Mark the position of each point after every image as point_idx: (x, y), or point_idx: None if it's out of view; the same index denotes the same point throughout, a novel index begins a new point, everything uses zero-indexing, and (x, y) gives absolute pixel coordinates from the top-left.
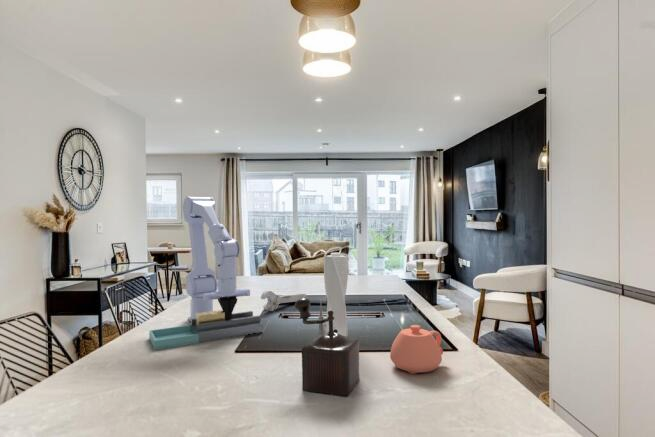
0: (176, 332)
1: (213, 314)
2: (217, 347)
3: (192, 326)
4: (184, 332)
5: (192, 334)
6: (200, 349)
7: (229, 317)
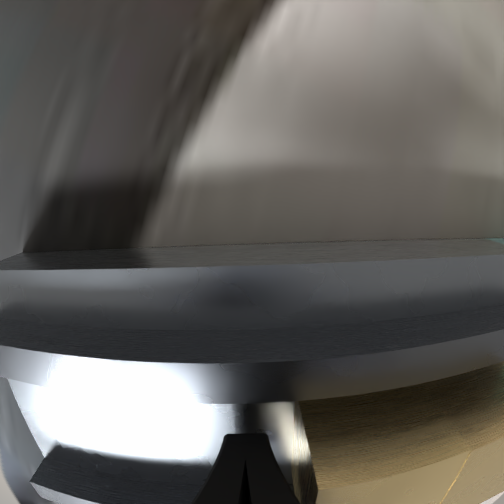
0: None
1: (452, 451)
2: (411, 62)
3: None
4: None
5: None
6: (494, 99)
7: (238, 454)
